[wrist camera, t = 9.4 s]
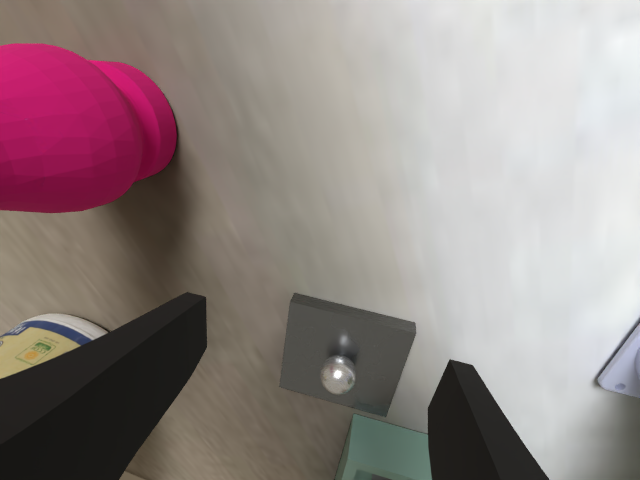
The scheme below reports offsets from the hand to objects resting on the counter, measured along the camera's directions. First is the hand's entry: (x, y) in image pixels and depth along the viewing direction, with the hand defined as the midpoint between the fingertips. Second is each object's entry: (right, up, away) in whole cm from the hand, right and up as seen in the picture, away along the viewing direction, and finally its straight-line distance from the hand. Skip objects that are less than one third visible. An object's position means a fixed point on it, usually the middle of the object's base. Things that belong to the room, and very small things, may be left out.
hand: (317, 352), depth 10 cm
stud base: (+2, -5, +14) cm, 14 cm away
